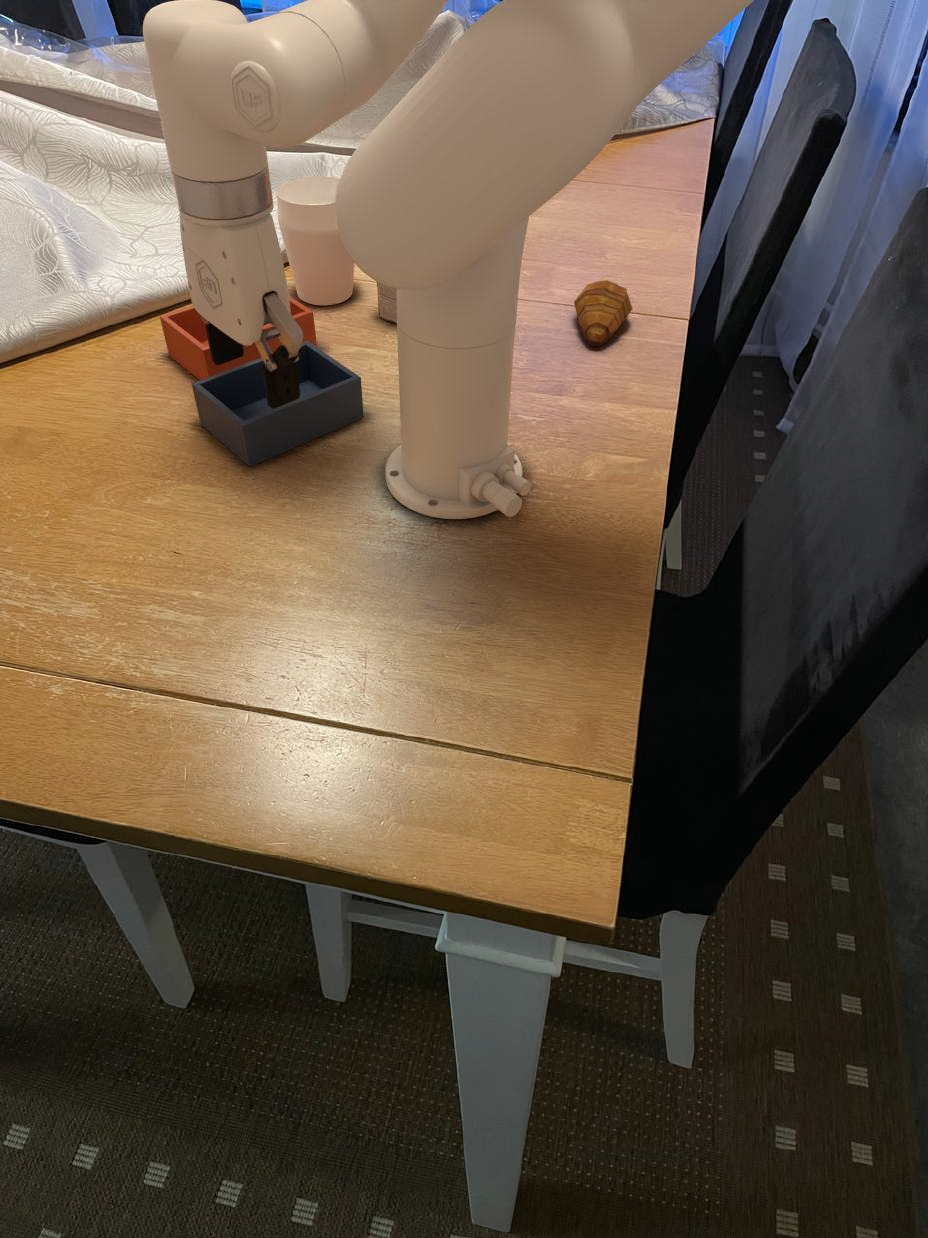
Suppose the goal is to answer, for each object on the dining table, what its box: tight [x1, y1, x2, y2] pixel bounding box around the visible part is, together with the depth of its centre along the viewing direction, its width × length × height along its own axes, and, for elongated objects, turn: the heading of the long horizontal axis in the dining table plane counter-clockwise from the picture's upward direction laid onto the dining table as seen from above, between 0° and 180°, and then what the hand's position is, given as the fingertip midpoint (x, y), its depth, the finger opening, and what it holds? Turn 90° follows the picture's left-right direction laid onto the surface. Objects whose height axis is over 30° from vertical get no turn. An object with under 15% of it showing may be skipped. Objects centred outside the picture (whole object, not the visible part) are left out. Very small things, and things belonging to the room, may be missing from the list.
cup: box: [275, 175, 356, 306], centre depth 102 cm, size 9×9×12 cm
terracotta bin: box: [159, 295, 318, 381], centre depth 95 cm, size 9×13×4 cm
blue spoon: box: [238, 387, 319, 421], centre depth 86 cm, size 10×4×1 cm, turn 130°
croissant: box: [573, 279, 633, 347], centre depth 101 cm, size 14×7×5 cm, turn 168°
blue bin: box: [191, 341, 364, 468], centre depth 86 cm, size 9×13×4 cm
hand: (255, 380), depth 82 cm, fingers open, 9 cm apart
